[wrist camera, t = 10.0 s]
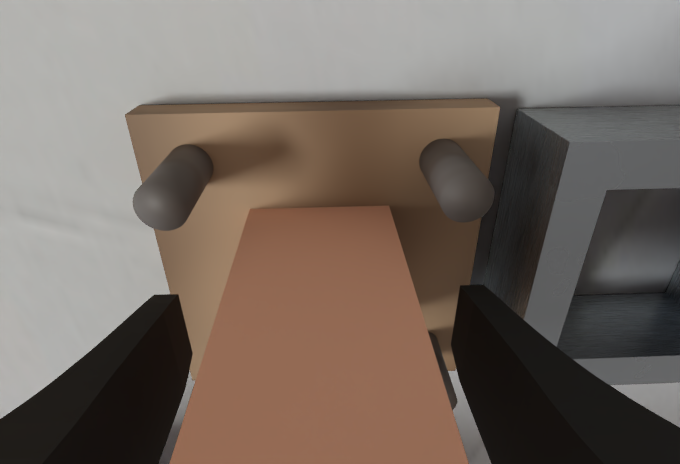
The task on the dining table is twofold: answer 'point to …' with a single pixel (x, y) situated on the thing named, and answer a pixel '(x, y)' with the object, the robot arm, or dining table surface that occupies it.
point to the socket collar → (585, 235)
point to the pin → (319, 351)
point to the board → (315, 189)
